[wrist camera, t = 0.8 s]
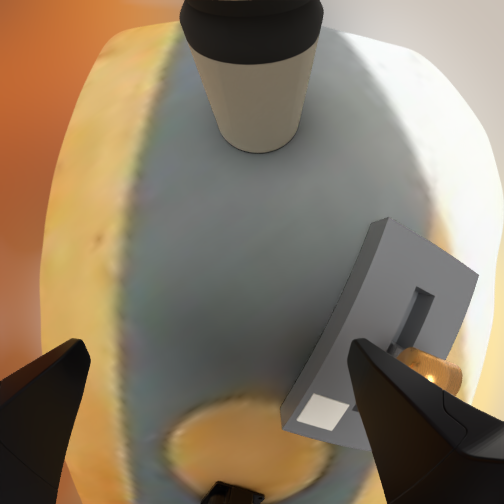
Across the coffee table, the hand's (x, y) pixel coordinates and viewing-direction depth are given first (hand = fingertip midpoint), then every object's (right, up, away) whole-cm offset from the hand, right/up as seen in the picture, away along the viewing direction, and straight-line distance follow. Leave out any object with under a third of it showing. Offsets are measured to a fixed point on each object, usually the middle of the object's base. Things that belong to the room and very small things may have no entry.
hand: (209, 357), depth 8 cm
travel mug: (+2, +16, +17) cm, 24 cm away
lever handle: (+14, -6, +14) cm, 21 cm away
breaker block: (+14, -6, +16) cm, 22 cm away
